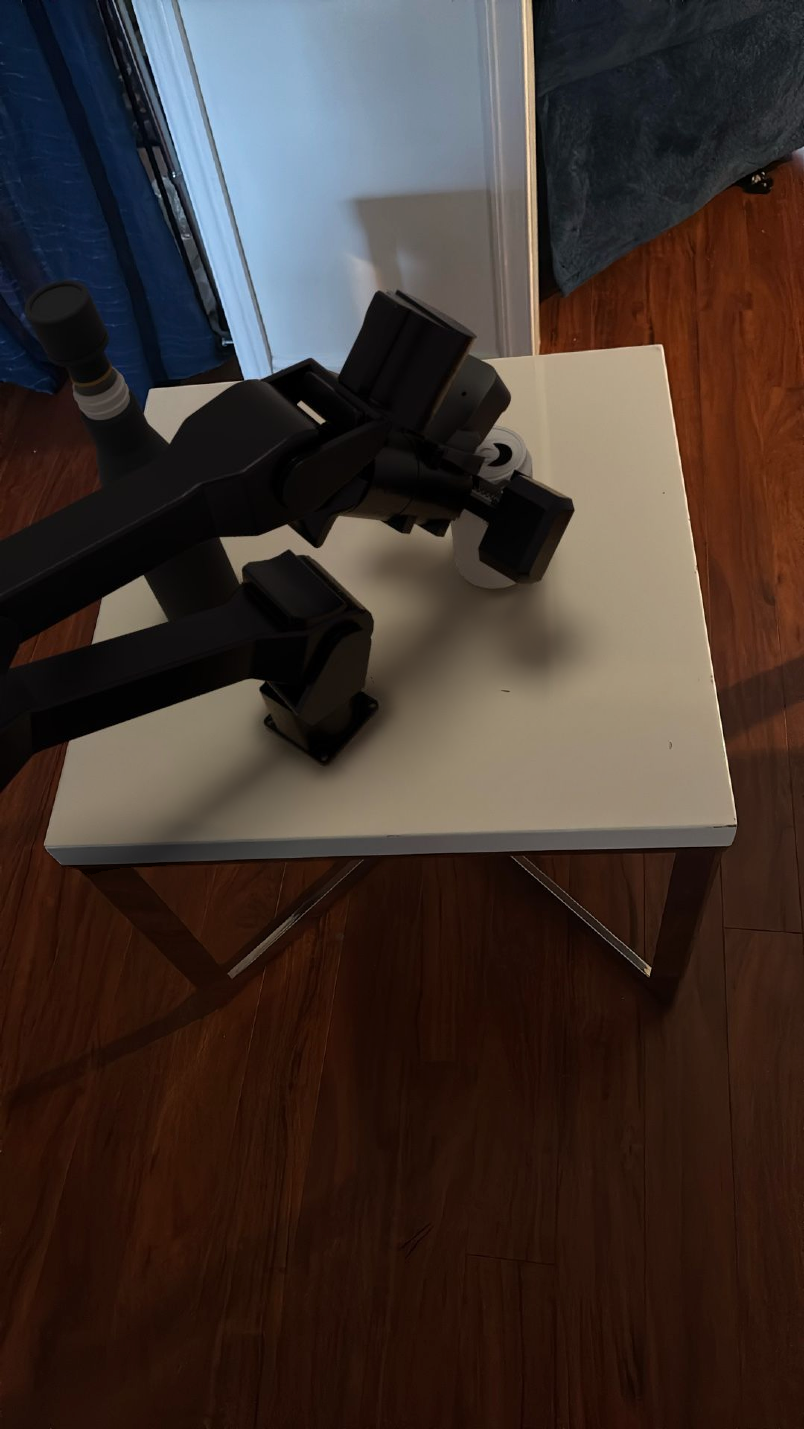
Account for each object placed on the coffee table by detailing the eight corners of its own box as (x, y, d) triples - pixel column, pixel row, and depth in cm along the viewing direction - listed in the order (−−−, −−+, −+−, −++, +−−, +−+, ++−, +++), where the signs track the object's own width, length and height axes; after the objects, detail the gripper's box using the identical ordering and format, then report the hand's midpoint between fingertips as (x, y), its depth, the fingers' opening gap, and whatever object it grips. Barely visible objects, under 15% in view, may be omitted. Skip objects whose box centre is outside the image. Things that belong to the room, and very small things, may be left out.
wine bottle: (241, 647, 83) (94, 333, 58) (165, 648, 84) (-12, 340, 59) (255, 584, 86) (121, 261, 61) (181, 586, 87) (20, 269, 62)
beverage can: (528, 598, 81) (522, 488, 71) (448, 589, 83) (431, 480, 73) (542, 537, 84) (539, 423, 74) (465, 530, 86) (452, 417, 76)
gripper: (555, 409, 58) (657, 443, 71) (324, 297, 67) (453, 345, 80) (474, 587, 62) (584, 588, 75) (266, 459, 71) (397, 480, 84)
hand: (502, 494), depth 78 cm, fingers closed on beverage can, 6 cm apart
